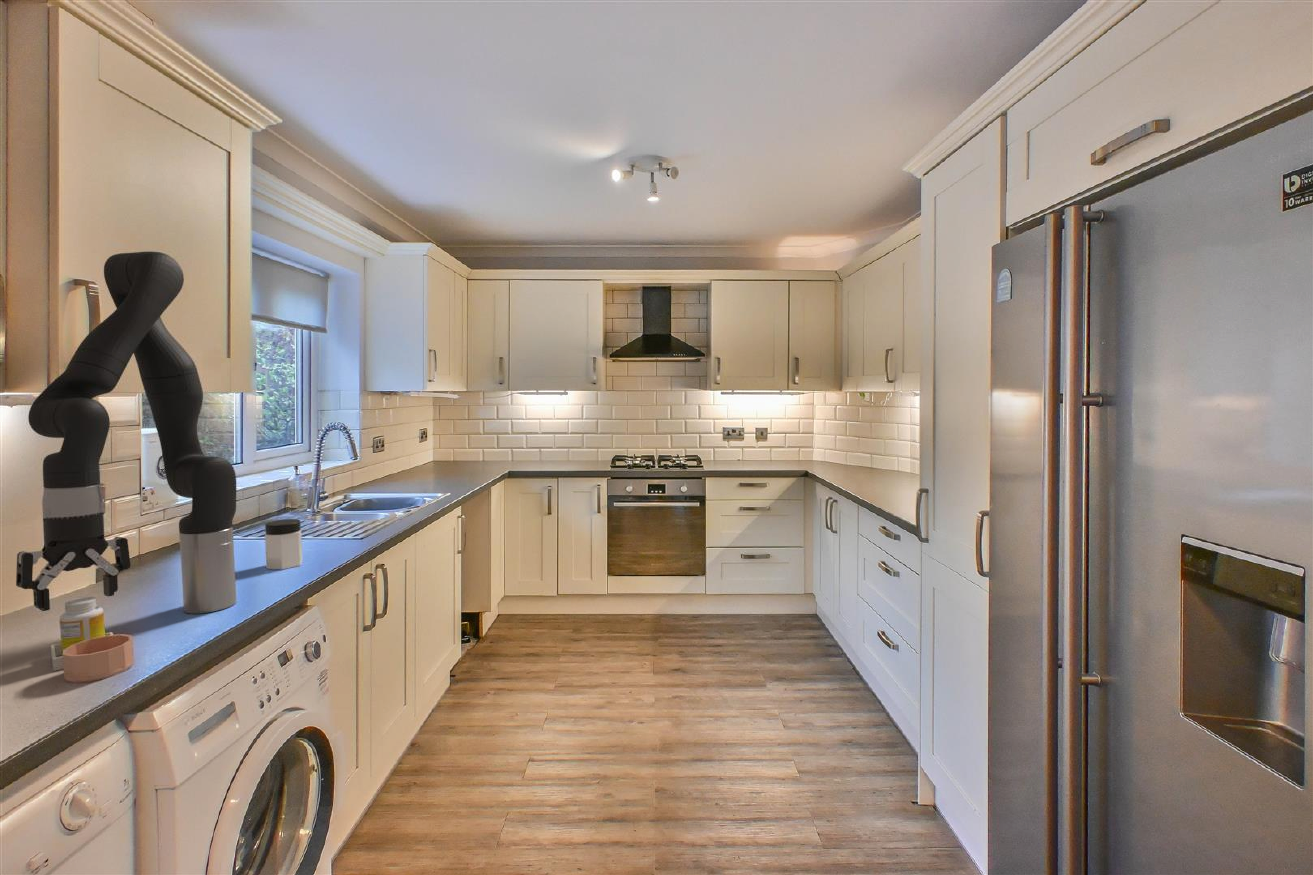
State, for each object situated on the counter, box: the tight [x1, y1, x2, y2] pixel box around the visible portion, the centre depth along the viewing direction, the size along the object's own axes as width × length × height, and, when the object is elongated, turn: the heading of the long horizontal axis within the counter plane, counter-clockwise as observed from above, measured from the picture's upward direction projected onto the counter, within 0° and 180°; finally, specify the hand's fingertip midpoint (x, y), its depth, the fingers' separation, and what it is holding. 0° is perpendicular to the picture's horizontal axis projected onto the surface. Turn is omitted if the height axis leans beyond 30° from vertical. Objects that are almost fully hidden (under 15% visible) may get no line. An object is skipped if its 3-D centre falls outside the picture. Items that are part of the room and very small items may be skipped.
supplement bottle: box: [59, 596, 106, 654], centre depth 103 cm, size 6×6×10 cm
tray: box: [50, 631, 114, 672], centre depth 104 cm, size 8×8×2 cm
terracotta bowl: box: [62, 633, 135, 684], centre depth 98 cm, size 8×8×4 cm
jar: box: [264, 518, 303, 571], centre depth 159 cm, size 9×8×12 cm
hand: (77, 602), depth 103 cm, fingers open, 8 cm apart
